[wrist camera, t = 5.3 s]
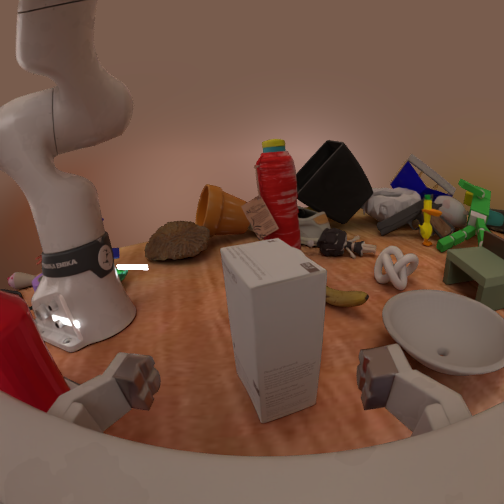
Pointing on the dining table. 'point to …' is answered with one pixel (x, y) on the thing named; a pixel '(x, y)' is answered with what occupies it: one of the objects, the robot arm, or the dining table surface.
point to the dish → (446, 331)
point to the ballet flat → (496, 220)
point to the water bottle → (275, 196)
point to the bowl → (389, 202)
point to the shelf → (480, 269)
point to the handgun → (415, 212)
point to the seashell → (177, 241)
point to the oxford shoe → (310, 225)
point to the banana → (345, 297)
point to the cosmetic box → (275, 324)
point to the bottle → (26, 357)
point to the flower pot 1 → (221, 212)
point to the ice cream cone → (20, 280)
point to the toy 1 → (452, 211)
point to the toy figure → (428, 220)
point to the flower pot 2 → (333, 182)
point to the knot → (395, 267)
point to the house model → (413, 182)
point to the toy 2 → (470, 217)
